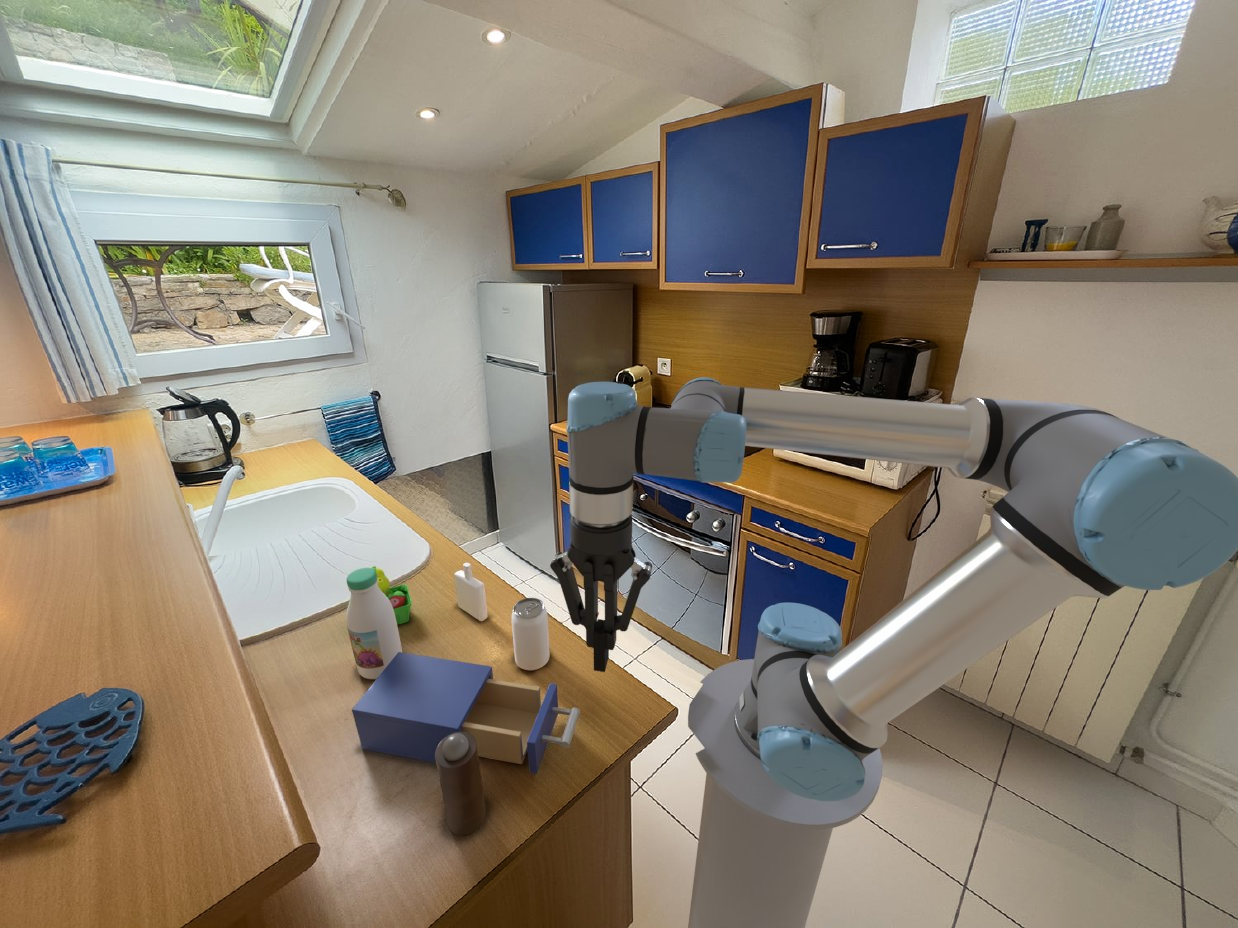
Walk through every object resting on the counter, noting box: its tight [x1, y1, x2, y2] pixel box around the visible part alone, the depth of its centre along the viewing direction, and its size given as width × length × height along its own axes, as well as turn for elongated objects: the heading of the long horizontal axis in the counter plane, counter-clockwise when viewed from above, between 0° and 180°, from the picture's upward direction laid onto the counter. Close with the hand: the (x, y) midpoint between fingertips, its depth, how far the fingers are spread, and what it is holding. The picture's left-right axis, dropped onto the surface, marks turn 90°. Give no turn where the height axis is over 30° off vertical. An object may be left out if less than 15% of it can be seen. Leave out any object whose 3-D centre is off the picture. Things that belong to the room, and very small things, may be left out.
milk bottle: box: [345, 567, 404, 680], centre depth 87 cm, size 8×8×20 cm
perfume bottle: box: [453, 562, 489, 622], centre depth 103 cm, size 8×2×12 cm, turn 52°
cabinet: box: [351, 651, 494, 764], centre depth 78 cm, size 17×12×8 cm
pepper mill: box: [435, 732, 487, 837], centre depth 64 cm, size 5×5×15 cm
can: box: [511, 597, 550, 672], centre depth 91 cm, size 6×6×12 cm
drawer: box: [461, 678, 581, 775], centre depth 76 cm, size 20×11×6 cm, turn 80°
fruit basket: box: [347, 565, 412, 626], centre depth 100 cm, size 11×9×11 cm
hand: (601, 663), depth 68 cm, fingers closed
